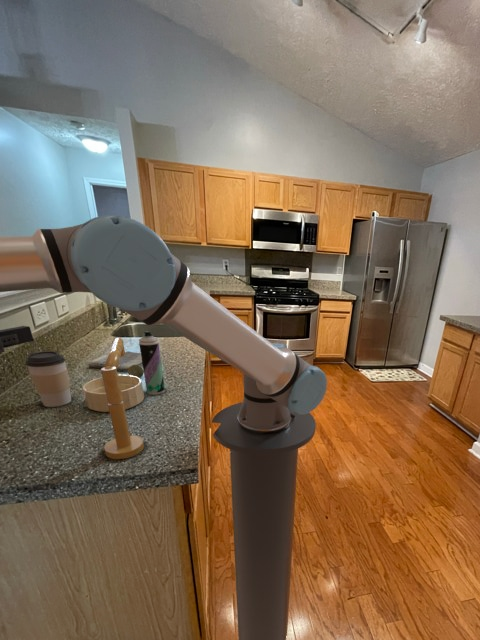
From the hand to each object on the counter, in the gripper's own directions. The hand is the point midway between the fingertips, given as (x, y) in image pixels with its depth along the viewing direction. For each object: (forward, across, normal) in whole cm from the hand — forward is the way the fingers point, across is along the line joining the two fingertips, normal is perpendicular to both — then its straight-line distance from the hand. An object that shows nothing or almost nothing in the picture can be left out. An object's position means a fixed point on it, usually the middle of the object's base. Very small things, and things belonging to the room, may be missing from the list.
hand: (28, 333), depth 59 cm
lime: (+46, -17, -28) cm, 56 cm away
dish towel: (+59, -32, -28) cm, 73 cm away
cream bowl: (+27, -9, -27) cm, 39 cm away
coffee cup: (+21, -25, -28) cm, 43 cm away
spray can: (+37, -3, -28) cm, 47 cm away
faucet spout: (+16, +3, -15) cm, 22 cm away
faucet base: (+6, +11, -27) cm, 30 cm away
